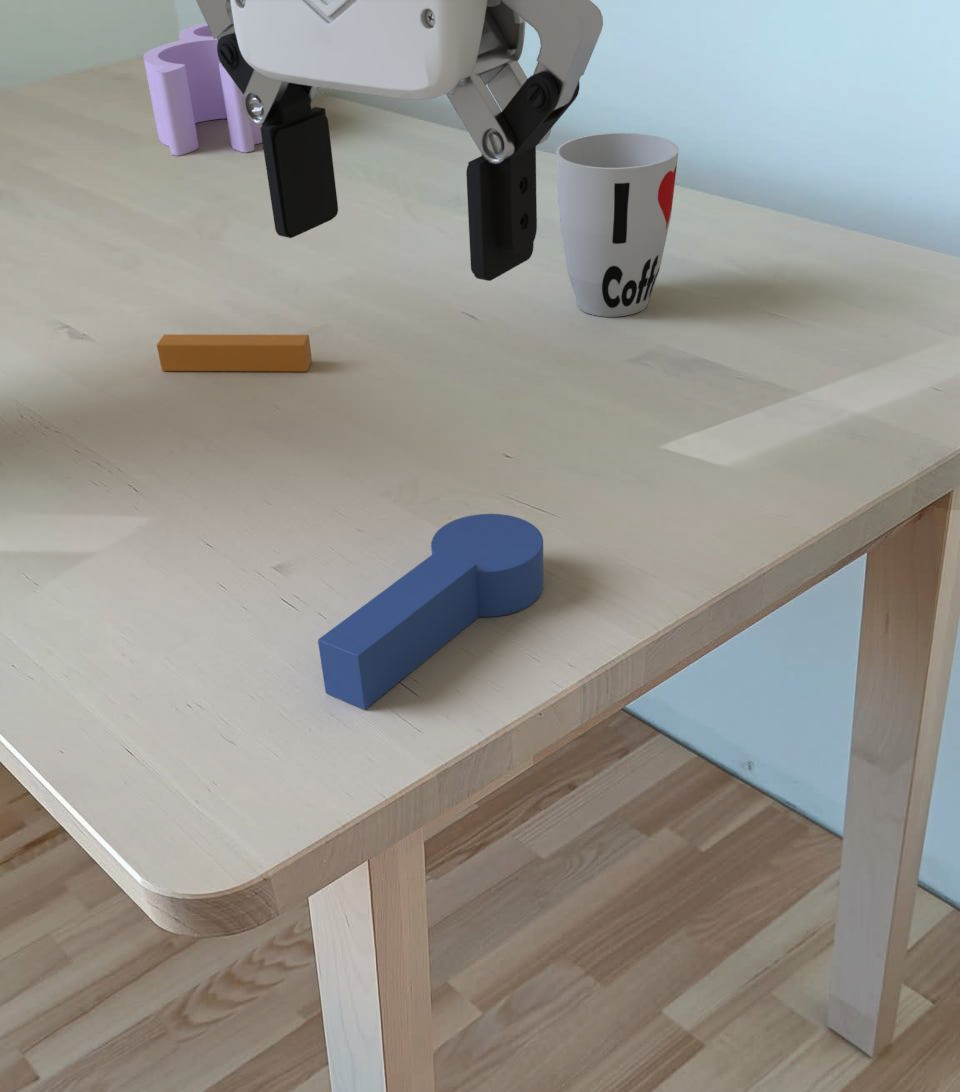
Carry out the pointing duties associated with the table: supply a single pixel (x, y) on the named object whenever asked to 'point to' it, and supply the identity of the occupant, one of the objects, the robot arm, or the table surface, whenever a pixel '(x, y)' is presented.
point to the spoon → (433, 604)
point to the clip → (195, 92)
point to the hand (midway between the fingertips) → (401, 246)
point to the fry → (234, 352)
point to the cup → (615, 217)
